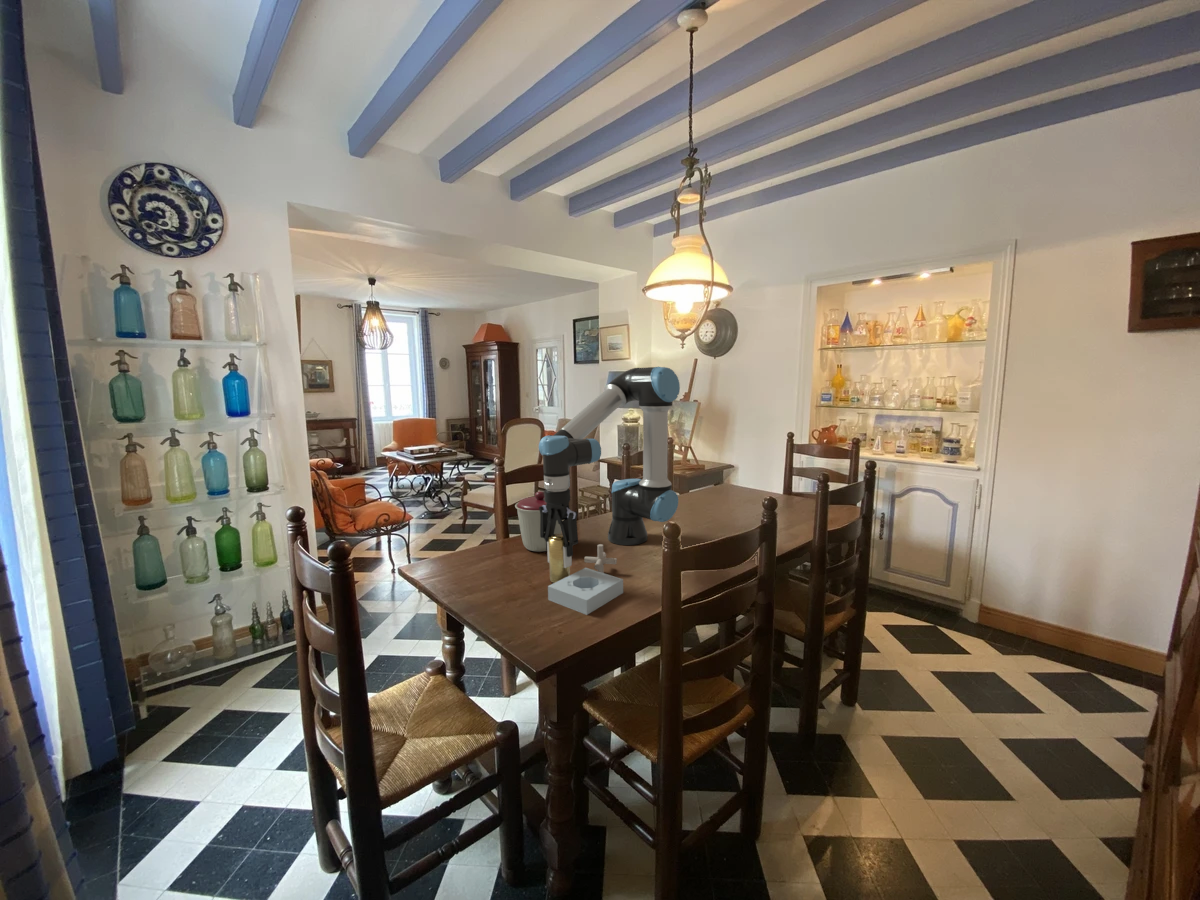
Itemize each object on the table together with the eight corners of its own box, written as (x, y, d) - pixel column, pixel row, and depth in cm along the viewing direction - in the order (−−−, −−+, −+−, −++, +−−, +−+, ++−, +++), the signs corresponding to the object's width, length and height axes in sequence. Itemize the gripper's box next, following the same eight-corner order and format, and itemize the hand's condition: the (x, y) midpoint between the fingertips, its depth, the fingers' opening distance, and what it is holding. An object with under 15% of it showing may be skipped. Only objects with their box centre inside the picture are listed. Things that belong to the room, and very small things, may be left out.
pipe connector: (613, 583, 144) (613, 551, 142) (581, 581, 146) (580, 550, 144) (619, 570, 153) (618, 540, 152) (588, 568, 155) (588, 539, 154)
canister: (532, 560, 163) (529, 500, 160) (508, 545, 178) (505, 490, 175) (575, 548, 174) (574, 492, 171) (550, 535, 188) (548, 483, 185)
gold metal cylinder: (559, 573, 148) (558, 531, 146) (574, 578, 144) (572, 535, 142) (545, 580, 143) (544, 536, 141) (560, 585, 140) (558, 540, 138)
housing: (585, 583, 144) (585, 567, 143) (623, 595, 136) (623, 579, 135) (548, 603, 132) (547, 586, 131) (586, 618, 123) (586, 600, 122)
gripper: (525, 487, 143) (528, 560, 146) (572, 495, 131) (574, 575, 134) (543, 482, 148) (546, 553, 152) (589, 490, 137) (591, 567, 140)
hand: (559, 563), depth 143 cm, fingers closed on gold metal cylinder, 6 cm apart
